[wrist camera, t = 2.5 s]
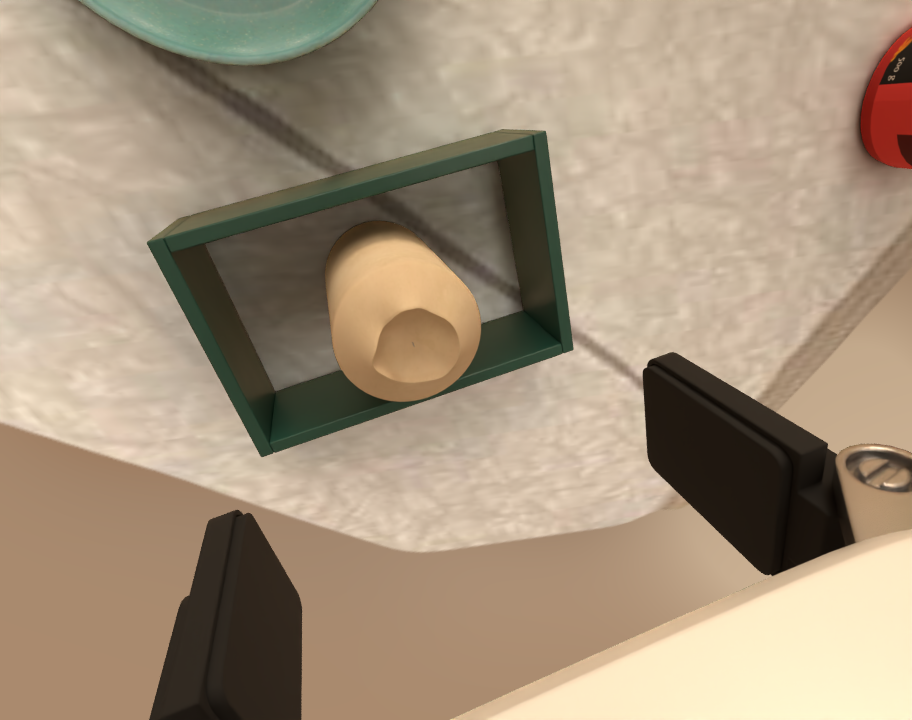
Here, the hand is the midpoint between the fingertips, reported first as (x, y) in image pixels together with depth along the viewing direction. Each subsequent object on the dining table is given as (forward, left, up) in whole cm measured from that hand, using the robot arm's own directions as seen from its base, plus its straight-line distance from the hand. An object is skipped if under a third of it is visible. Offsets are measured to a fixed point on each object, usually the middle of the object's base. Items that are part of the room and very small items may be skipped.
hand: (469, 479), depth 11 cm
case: (0, 0, -17) cm, 17 cm away
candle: (0, 0, -17) cm, 17 cm away
